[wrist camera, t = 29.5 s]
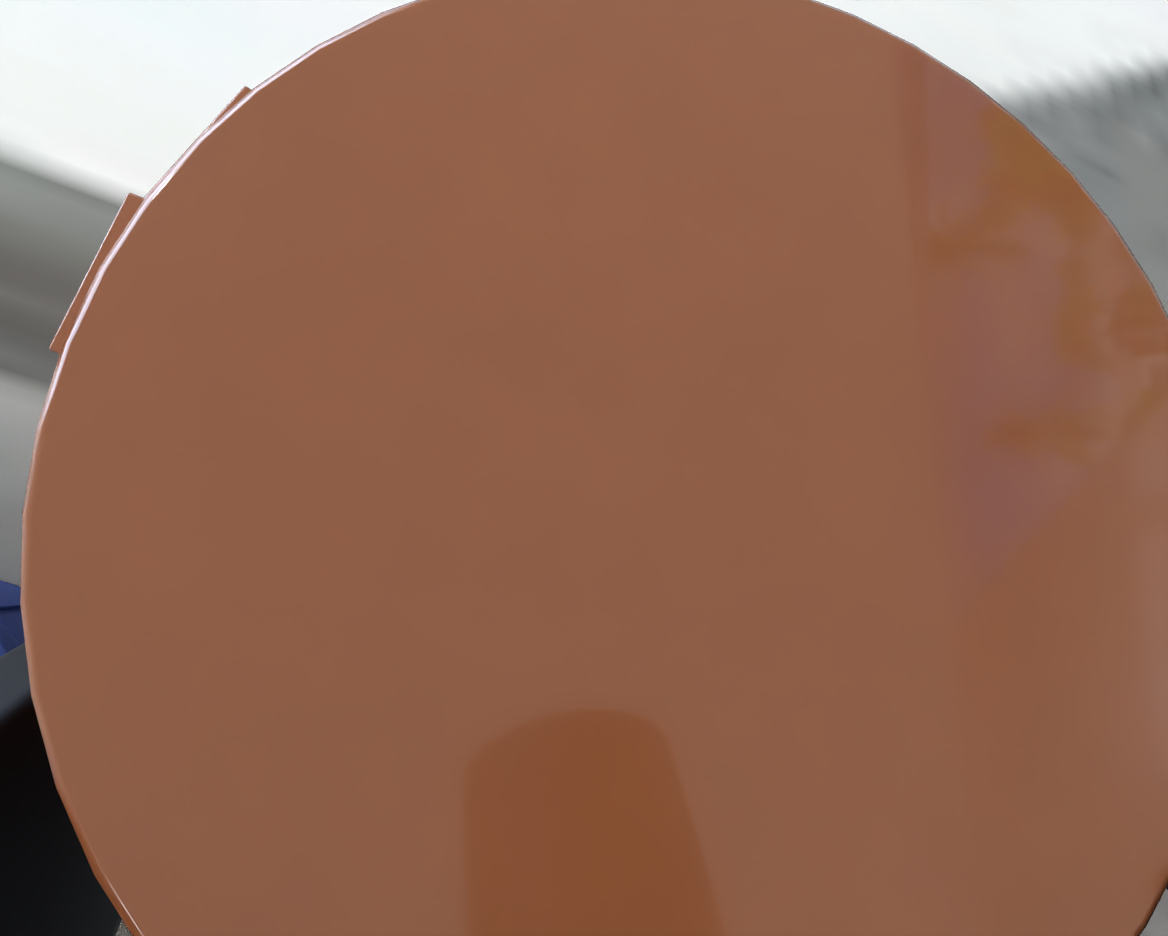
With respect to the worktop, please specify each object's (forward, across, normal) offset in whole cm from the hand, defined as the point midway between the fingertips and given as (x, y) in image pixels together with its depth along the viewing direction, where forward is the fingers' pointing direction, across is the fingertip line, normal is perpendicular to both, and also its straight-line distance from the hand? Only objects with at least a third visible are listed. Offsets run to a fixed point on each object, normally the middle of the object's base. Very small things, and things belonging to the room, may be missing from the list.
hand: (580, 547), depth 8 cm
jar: (+6, 0, -6) cm, 8 cm away
